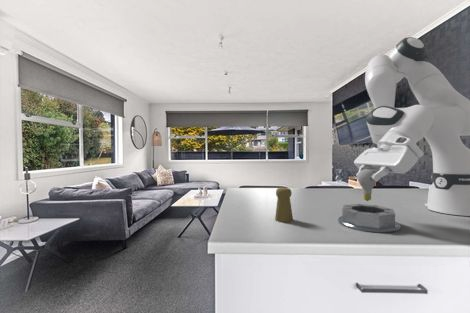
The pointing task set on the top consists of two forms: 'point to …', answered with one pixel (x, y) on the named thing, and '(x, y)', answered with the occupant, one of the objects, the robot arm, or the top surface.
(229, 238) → the top surface
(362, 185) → the light bulb
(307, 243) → the top surface
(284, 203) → the cork
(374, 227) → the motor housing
